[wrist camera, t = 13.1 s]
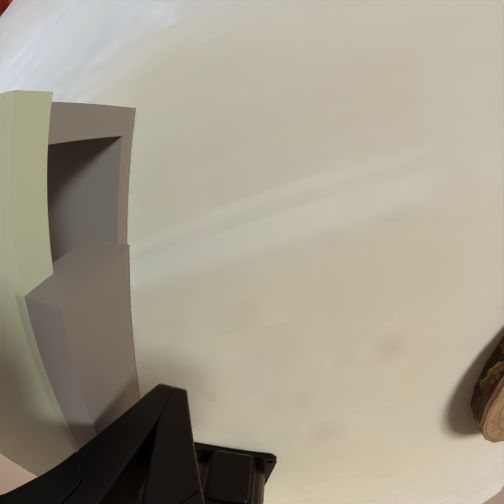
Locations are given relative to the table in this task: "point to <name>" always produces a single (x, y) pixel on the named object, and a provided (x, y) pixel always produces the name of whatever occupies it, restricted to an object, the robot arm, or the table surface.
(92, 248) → the lid
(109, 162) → the housing
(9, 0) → the paper cup
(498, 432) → the wood slice coaster
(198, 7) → the table surface
